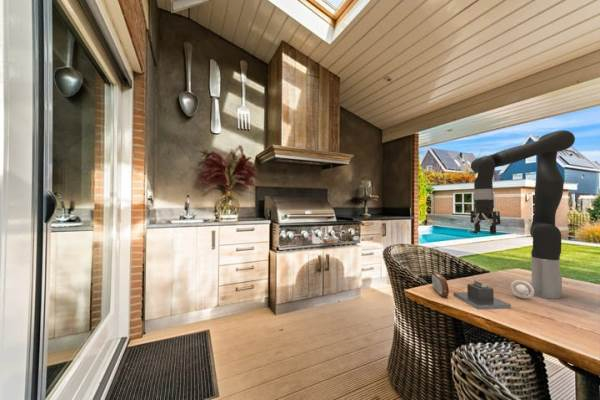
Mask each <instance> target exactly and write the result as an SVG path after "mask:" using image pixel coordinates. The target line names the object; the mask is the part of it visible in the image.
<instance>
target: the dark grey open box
mask: <svg viewBox="0 0 600 400" xmlns="http://www.w3.org/2000/svg"><path fill="white" fill-rule="evenodd" d="M467 292H468V296H470V297H472V298H474V299H476V300H478V301H494V297H495V296H494V288H492V287H490V286H487V285H486V288H479V287H476V286H474V283H468V284H467Z"/></svg>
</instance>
